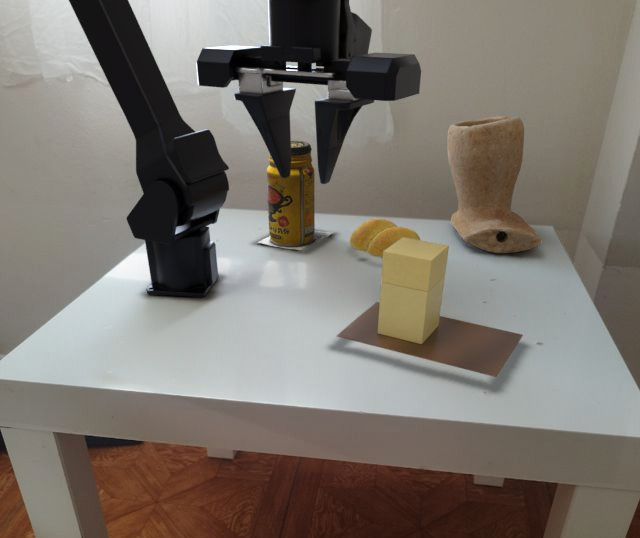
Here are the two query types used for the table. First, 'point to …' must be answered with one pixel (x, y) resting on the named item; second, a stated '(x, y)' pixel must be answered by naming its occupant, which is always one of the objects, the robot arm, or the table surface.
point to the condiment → (292, 202)
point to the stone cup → (488, 183)
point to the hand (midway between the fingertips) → (305, 180)
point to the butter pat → (414, 263)
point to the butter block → (409, 311)
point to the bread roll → (379, 236)
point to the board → (442, 342)
